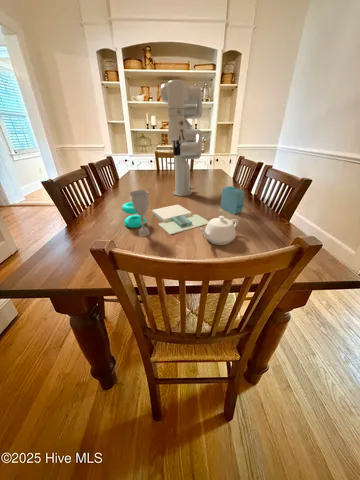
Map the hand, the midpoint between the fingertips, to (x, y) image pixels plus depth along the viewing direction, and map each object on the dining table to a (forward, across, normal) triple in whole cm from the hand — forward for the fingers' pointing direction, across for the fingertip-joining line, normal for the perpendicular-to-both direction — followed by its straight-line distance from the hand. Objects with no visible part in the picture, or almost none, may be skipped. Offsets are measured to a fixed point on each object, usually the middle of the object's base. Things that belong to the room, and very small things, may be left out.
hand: (176, 155), depth 103 cm
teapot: (+27, -44, +6) cm, 52 cm away
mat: (+27, -24, +10) cm, 37 cm away
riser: (+27, -11, +10) cm, 31 cm away
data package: (+27, -23, -20) cm, 41 cm away
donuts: (+27, -12, +30) cm, 42 cm away
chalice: (+27, -23, +30) cm, 47 cm away
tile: (+27, -23, +11) cm, 37 cm away
